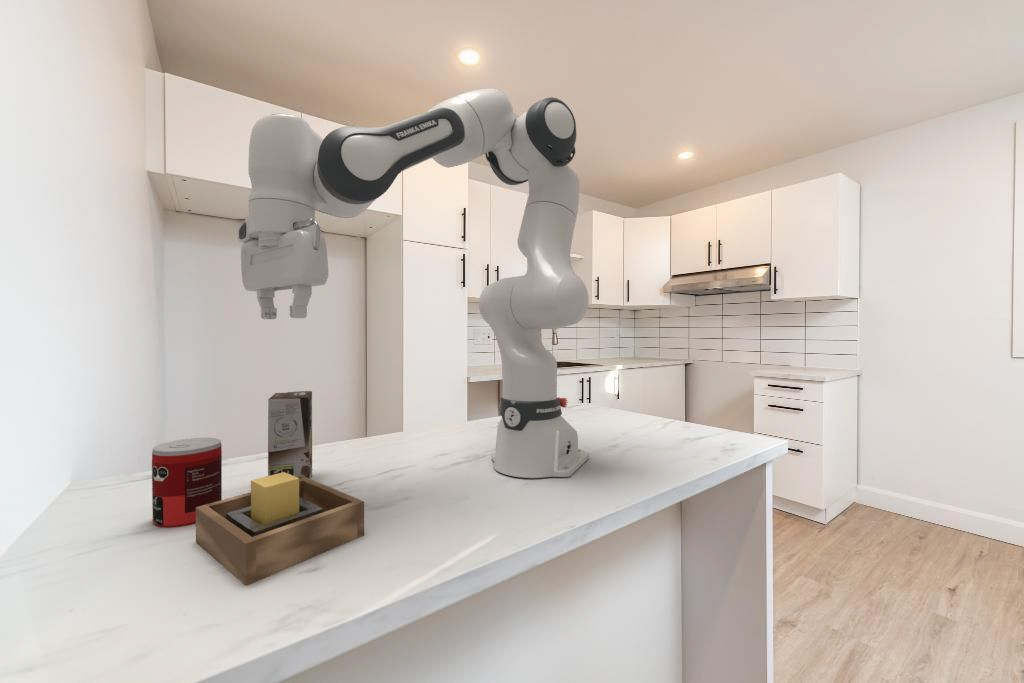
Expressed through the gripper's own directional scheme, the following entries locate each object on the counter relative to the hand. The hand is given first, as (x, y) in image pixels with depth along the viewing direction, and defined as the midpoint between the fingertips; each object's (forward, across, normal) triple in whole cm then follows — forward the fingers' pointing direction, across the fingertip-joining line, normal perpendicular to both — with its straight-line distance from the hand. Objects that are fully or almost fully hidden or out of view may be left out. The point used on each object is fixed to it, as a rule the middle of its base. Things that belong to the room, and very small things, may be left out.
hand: (282, 318), depth 64 cm
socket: (+28, -11, +6) cm, 31 cm away
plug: (+28, -11, +6) cm, 31 cm away
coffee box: (+29, +10, -6) cm, 32 cm away
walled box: (+29, -10, +5) cm, 31 cm away
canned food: (+29, +7, +10) cm, 32 cm away
